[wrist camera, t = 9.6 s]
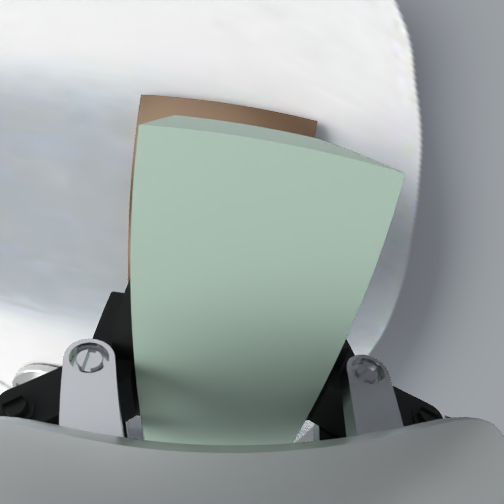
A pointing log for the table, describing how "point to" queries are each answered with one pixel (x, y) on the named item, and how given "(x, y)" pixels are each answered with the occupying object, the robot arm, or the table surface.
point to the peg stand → (170, 106)
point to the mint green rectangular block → (246, 274)
